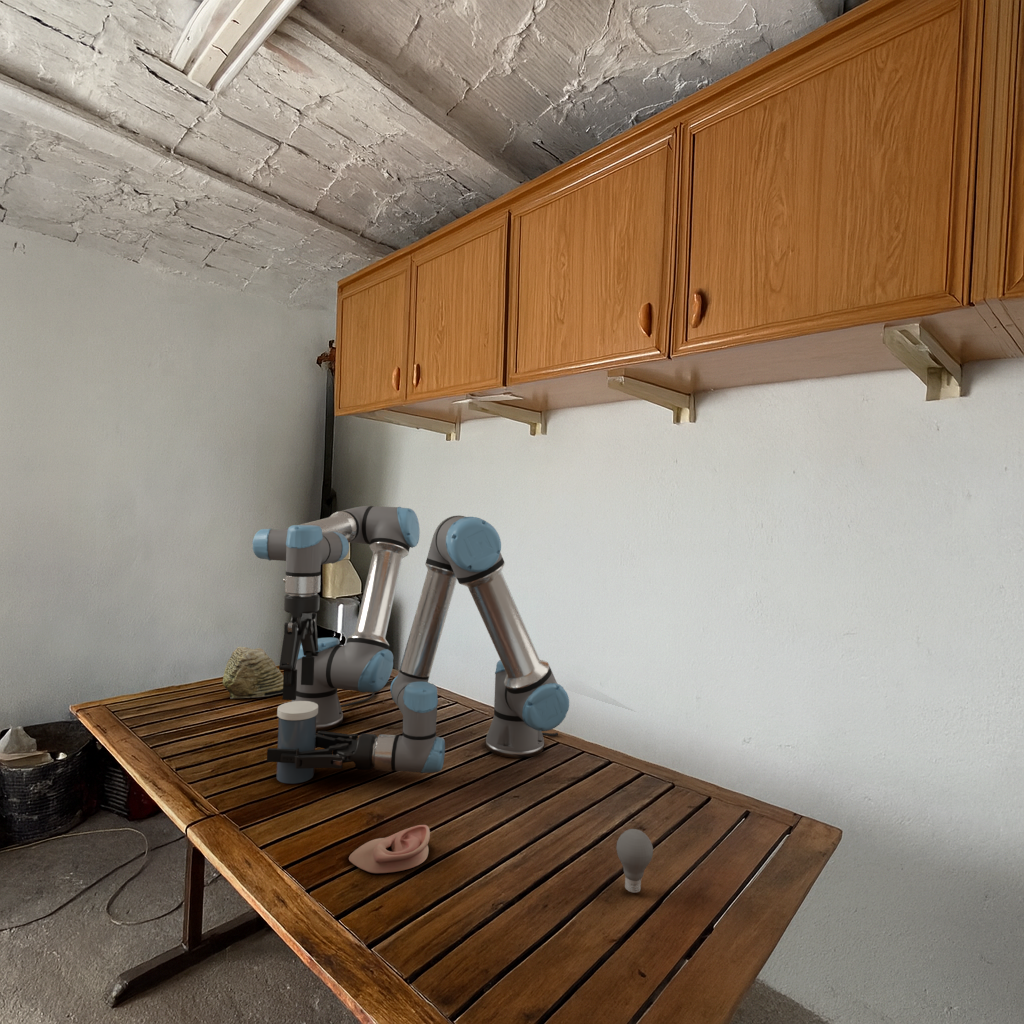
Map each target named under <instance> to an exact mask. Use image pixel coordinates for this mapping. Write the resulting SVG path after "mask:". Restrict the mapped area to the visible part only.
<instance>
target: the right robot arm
mask: <svg viewBox="0 0 1024 1024" xmlns="http://www.w3.org/2000/svg"><path fill="white" fill-rule="evenodd" d="M430 541H431V542H430V545H429V549H428V553H427V556H426V560H425V566H426V568H427V571H426V575H425V579H424V583H423V586H422V589H421V592H420V596H419V600H418V604H417V606H416V610H415V614H414V617H413V620H412V624H411V628H410V631H409V635H408V638H407V642H406V644H405V649H404V651H403V655H402V659H401V663H400V666H399V670H398V673H397V675H396V676H395V677H394V678H393V679H392V680H393V681H392V683H390V689H389V690H390V695H391V699H392V701H393V703H395V705H396V706H397V707H398V709H399V711H400V713H401V714H402V735H398V734H382V733H381V734H379V735H377V734H375V733H361V734H357V733H341V732H332V731H327V730H325V731H318V732H317V733H316V744H315V748H321V749H315V750H310V751H301V752H299V748H298V749H277V748H276V747H275V748H273V747H268V748H267V750H266V762H267V763H277V762H283V763H296V768H297V769H303V768H315V769H337V770H340V769H341V770H342V769H343V767H344V764H345V763H354V766H355V768H356V769H357V770H367V771H372V770H373V769H374V770H375V771H385V773H389V772H390V771H391V772H393V771H394V772H407V773H420V774H431V773H432V774H433V773H440V772H441V771H442V770H443V767H444V764H445V754H446V742H445V739H444V738H443V737H441V736H437V719H438V718H437V717H438V704H439V698H438V687H437V685H436V684H434V683H431V682H429V679H430V676H431V671H432V669H433V666H434V665H433V664H434V661H435V658H436V654H437V652H438V648H439V644H440V640H441V637H442V634H443V630H444V627H445V623H446V620H447V616H448V614H449V613H448V612H449V609H450V607H451V602H452V598H453V595H454V591H455V587H456V584H457V582H458V584H459V585H462V586H464V587H467V588H468V591H469V593H470V595H471V596H472V597H471V598H472V599H473V602H474V604H475V607H476V608H477V611H478V613H479V615H480V618H481V620H482V621H483V624H484V626H485V629H486V631H487V634H488V635H489V637H490V639H491V642H492V644H493V646H494V648H495V649H494V650H496V653H497V656H498V657H499V660H498V661H497V662H496V664H495V665H496V667H495V672H494V675H495V676H494V677H495V678H494V703H493V718H492V720H491V723H490V726H489V729H488V731H487V734H486V737H485V748H486V749H487V750H488V751H489V752H490V753H492V754H494V755H496V756H500V757H505V758H510V759H511V758H512V759H525V758H531V757H535V756H538V755H539V754H541V753H542V752H544V750H545V739H544V736H545V737H557V736H559V733H558V732H553V733H549V732H547V731H552V730H554V729H556V728H557V727H558V726H560V725H561V724H562V722H564V720H565V719H566V717H567V713H568V712H569V709H570V698H569V694H568V692H567V691H566V690H565V688H564V686H562V685H561V684H559V683H558V681H557V679H556V677H555V674H554V672H553V670H552V668H551V665H550V664H549V662H548V661H546V660H543V659H541V658H540V656H539V654H538V652H537V649H536V647H535V645H534V643H533V641H532V638H531V636H530V634H529V632H528V631H529V630H528V629H527V627H526V624H525V622H524V620H523V617H522V615H521V613H520V610H519V608H518V606H517V603H516V601H515V598H514V597H513V595H512V592H511V590H510V587H509V585H508V582H507V581H506V578H505V576H504V574H503V570H504V566H505V563H506V562H505V560H504V558H503V555H502V553H501V552H502V541H501V536H500V534H499V532H498V530H497V528H495V527H494V526H493V525H492V524H491V523H489V522H488V521H486V520H485V519H482V518H481V517H478V516H477V517H476V516H465V515H452V516H449V517H447V518H445V519H444V520H442V521H441V522H440V523H439V524H438V525H437V527H436V529H435V530H434V533H433V535H432V538H431V540H430Z"/></svg>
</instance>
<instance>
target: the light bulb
mask: <svg viewBox="0 0 1024 1024" xmlns="http://www.w3.org/2000/svg"><path fill="white" fill-rule="evenodd" d="M615 849H616V854H617V857H618V859H619V861H620V863H621V865H622V867H623V873H624V874H623V875H624V876H625V878H624V888H625V890H627V891H628V892H630V893H634V894H635V893H639V892H640V891H641V889H642V887H641V886H642V879H643V877H644V875H645V871H646V868H647V867H648V866H649V864H650V863H651V861H652V859H653V855H654V847H653V843H652V841H651V838H649V836H648V835H647V834H646V833H645V832H643V831H642V830H641V829H636V828H629V829H627V830H625V831H623V832H622V833H621V834H620V835H619V837H618V839H617V841H616V847H615Z"/></svg>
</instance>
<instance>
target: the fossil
mask: <svg viewBox="0 0 1024 1024" xmlns="http://www.w3.org/2000/svg"><path fill="white" fill-rule="evenodd" d="M283 675H284V674H283V672H281V670H279V667H277V665H276V663H275V662H274V660H273V659H272V658H271V657H270V656H269V655H268V654H267V653H266V652H265V650H264V649H263V648H260V647H258V648H251V647H247V646H246V647H245V646H238V647H237V648H236V649H235V650H233V651H232V653H231V656H230V657H229V659H228V660H227V663H226V666H225V668H224V671H223V675H222V676H223V677H222V685H223V687H224V688H225V690H226V691H228V693H229V698H230V699H250V698H264V697H271V696H275V695H281V694H283Z"/></svg>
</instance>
